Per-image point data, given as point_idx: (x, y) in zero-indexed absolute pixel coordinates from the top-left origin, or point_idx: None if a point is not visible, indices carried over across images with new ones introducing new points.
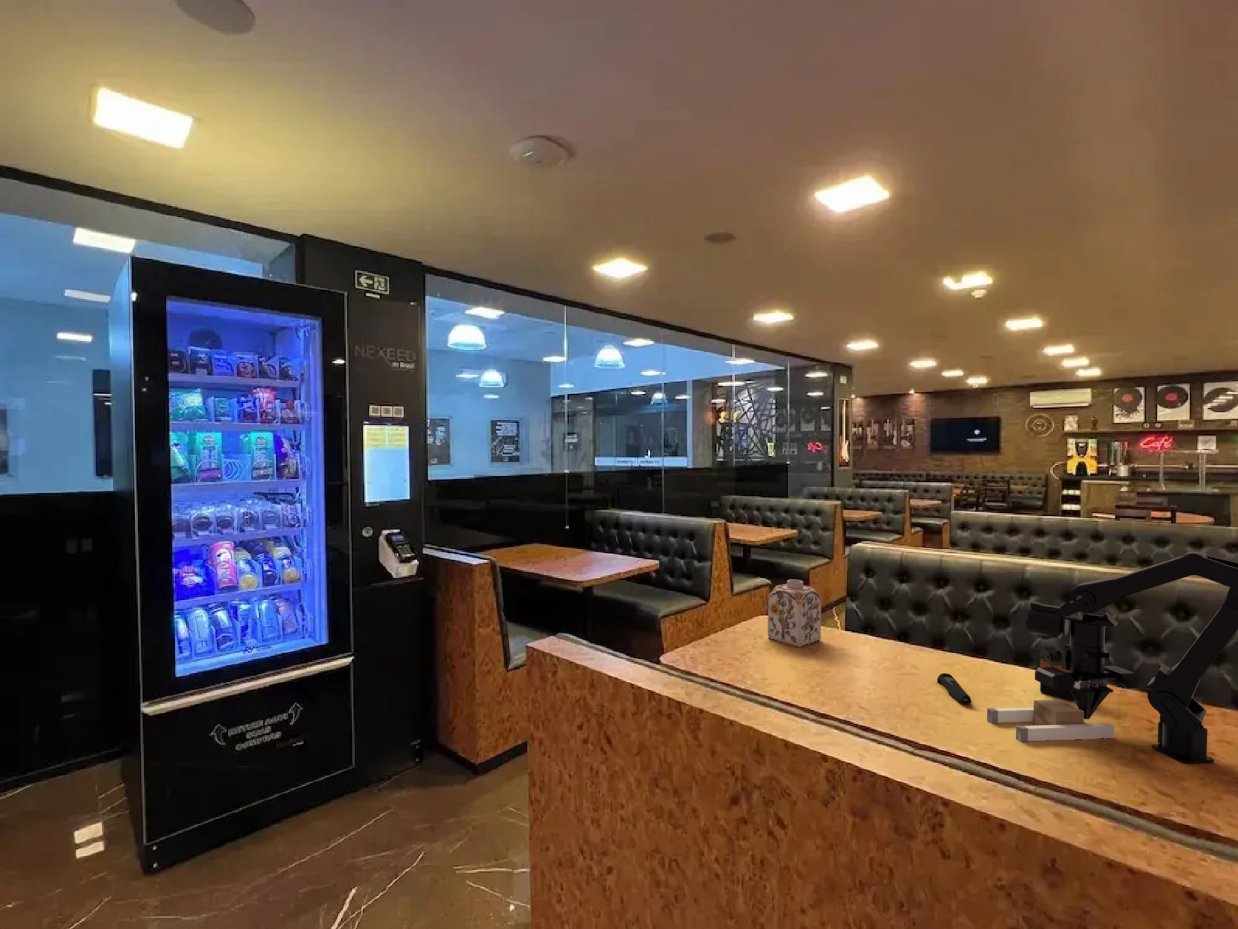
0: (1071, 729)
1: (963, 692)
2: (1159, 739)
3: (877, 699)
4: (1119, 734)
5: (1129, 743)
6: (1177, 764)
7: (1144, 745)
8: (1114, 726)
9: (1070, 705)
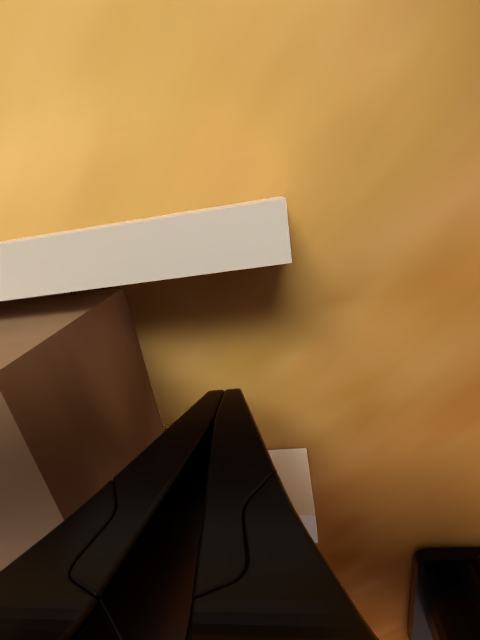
0: None
1: None
2: (478, 599)
3: None
4: (390, 430)
5: (345, 510)
6: (378, 631)
7: (404, 526)
8: (316, 541)
9: (39, 509)
